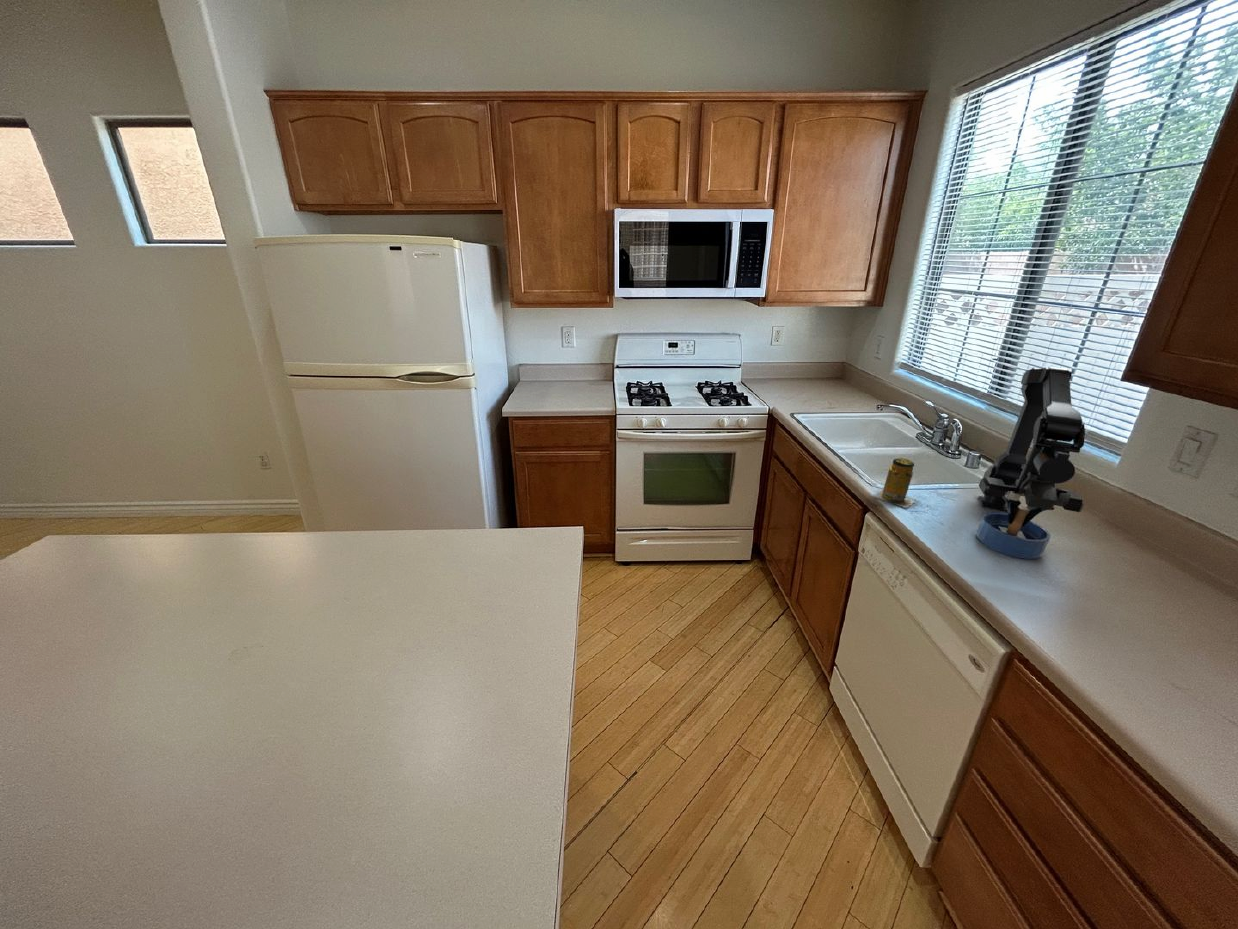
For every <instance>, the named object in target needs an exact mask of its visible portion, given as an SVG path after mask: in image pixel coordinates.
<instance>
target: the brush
mask: <svg viewBox="0 0 1238 929" xmlns="http://www.w3.org/2000/svg"><path fill="white" fill-rule="evenodd" d="M1028 511H1029V509H1028V508H1027V506H1024V505H1019V506H1018V508H1017V511H1016V514H1015V517H1014V520H1013V522H1012V523H1011V524H1009V526H1008V528H1005V527H1000V526H998V528H997V529H998V530H999V531H1002V532H1004V533H1006V534H1009V535H1012V536H1015V537H1019V538H1023V539H1026V538H1025V536H1024V535H1023V533H1022V531H1019V530H1020V528H1021V526H1022V524H1023V522H1024V519H1025V517H1026V515H1027V513H1028Z"/></svg>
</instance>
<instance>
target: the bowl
mask: <svg viewBox="0 0 1238 929" xmlns="http://www.w3.org/2000/svg"><path fill="white" fill-rule="evenodd" d="M998 526H1000V527H1005V528H1008V526H1009V522H1008V513H1005V512H988V513H985V514H983V516H982V518H981V521H980V524H979V526H978V528H977V531H976V533H975V534H976V538H977V539H978V540H979V541H980V542H981V543H982V544H984V545H986V546H987V547H989V548H990V549H992V550H994V551H996V552H999V553H1002V554H1005V555H1006V556H1010V557H1015V558H1020V559H1029V560H1030V559H1038V558H1040V557H1042V556H1043V554H1044V552H1045V549H1046V547H1047V545H1048V544H1049V541H1050V540H1051V533H1050V532H1049V530H1047V529H1046V528H1044V527H1043V526H1042V525H1040V524H1038V523H1037V522H1034V521H1033V520H1030V521H1029V522H1028V523H1027V524H1026V525H1025V526H1021V528H1020V530H1019V531H1022V533H1023V535H1024V536H1025V538H1026V539H1023V538H1019V537H1015V536H1012V535H1009V534H1006V533H1004V532H1002V531H999V530H998V529H997V528H998Z"/></svg>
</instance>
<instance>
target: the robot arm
mask: <svg viewBox="0 0 1238 929" xmlns="http://www.w3.org/2000/svg"><path fill="white" fill-rule="evenodd" d="M1072 375H1073V371H1072V370H1071V369H1069V368H1064V367H1063V368H1062V367H1054V366H1048V367H1043V368H1041V367H1031V369H1028V370H1025V371H1024V373H1023V375H1022V377H1021V379H1020V380H1021V381H1020V384H1021V385H1022V386H1021V388H1020V391H1021V394H1022V397H1023V400H1024V401H1023V405H1022V407H1021V409H1020V412H1019V415H1018V418H1017V420H1016V423H1015V425H1014V428H1013V431H1012V433H1011V437H1010V438H1009V441H1008V444H1007V447H1006V450H1005V451H1004V452H1003V453H1001V454H1000V455H999V456H997V457H996V458H995V459H994V461H993V464H991V465H990V466H989V467H988V468H987V470H985V471H984V473H983V477H982V478H981V479H980V480H979V483H978V487H979V489H980V491H981V493H982V494H983V496H981V495H978V497H977V499H978V501H979V502H980V504H981V506H982V507H983V508H988V509H994V510H997V511H998V510H999V511H1003V512H1007V513H1006V514H1008V522H1009V524H1011V523H1012V522H1013V520H1014V517H1015V514H1016V511H1017V508H1018V506H1021V505H1022V502H1021V500H1020V499H1021V497H1024V500H1025V502H1024V503H1025V505H1026V507H1027V508H1028V509H1029V511H1028V513H1027V515H1026V517H1025V519H1024V522H1023V524H1022V526H1025V525H1026V524H1027V523H1028V522H1029V521H1033V519H1034V518H1036V516H1038V515H1039V514H1040V513H1042V512H1045V511H1053V510H1055V507H1054V506H1058V507H1062V508H1063V509H1064V510H1065V511H1069V512H1070V511H1071V512H1075V513H1081V512H1082V510H1083V509H1084V506H1085V501H1084V500H1083V499H1082V498H1081V497H1080V496H1079V494H1078V493H1076V492H1075V491H1073V490H1066V489H1063V488H1059V487H1056V485H1057V484H1063V483H1066V482H1069V481H1070V480H1071V479H1073V478H1074V476H1075V473H1076V467H1075V465H1074V464H1073V463H1072V461H1071V459H1070V456H1071V454H1070V453H1077V454H1079V453H1080V452H1081V449H1082V448H1083V447H1084V446H1085V439H1086V438H1085V436H1086V428H1085V423H1084V422H1083V418H1082V415H1081V412H1080V411H1078V410H1077V409H1075V408H1074V407H1073V405H1072V394H1071V393H1072V392H1071V382H1070V381H1071V378H1072ZM1031 444H1032V446H1031ZM1030 447H1031V449H1030ZM1029 449H1030V452H1028V451H1029ZM1028 453H1029V454H1028ZM1027 455H1028V456H1027Z"/></svg>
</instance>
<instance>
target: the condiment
mask: <svg viewBox="0 0 1238 929" xmlns="http://www.w3.org/2000/svg"><path fill="white" fill-rule="evenodd" d="M914 466H915V463H914V462H913V461H912V460H910V459H907V458H903V457H897V458H894V459H893V460H892V464H891V466H890V467H889V468H888V471H887V475H886V479H885V481H884V486H883V489H882V493H880V494H878V495H876V496H875V498H878V499H879V500H883V501H884V502H888V503H890V504H894V505H896V506H899V507H903V508H905V509H907V508H909V507H911V506H912V505H913V504H915V503H916V502H917V500H914V499H912V498H909V497H907V494H908V491H909V487H910V484H911V481H912V478H913V474H914V472H913V471H914Z"/></svg>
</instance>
